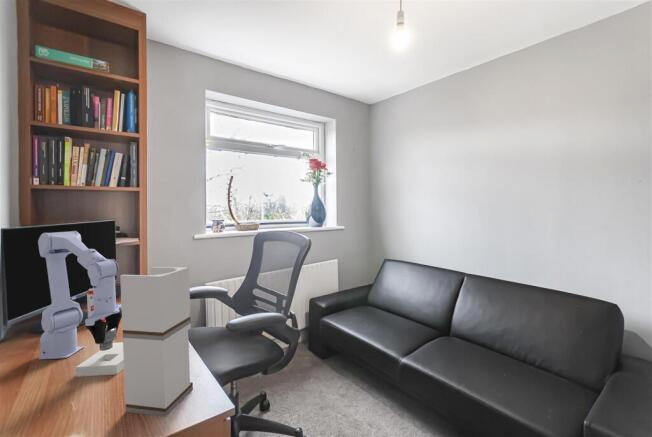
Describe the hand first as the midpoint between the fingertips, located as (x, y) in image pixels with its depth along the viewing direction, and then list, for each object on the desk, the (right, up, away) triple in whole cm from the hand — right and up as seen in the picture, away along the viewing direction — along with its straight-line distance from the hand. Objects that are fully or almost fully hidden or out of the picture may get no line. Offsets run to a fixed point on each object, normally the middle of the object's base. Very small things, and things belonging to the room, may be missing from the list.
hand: (106, 338), depth 93 cm
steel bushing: (0, -3, 0) cm, 3 cm away
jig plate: (0, -9, +3) cm, 10 cm away
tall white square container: (+28, -10, -17) cm, 34 cm away
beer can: (-33, -9, +37) cm, 50 cm away
